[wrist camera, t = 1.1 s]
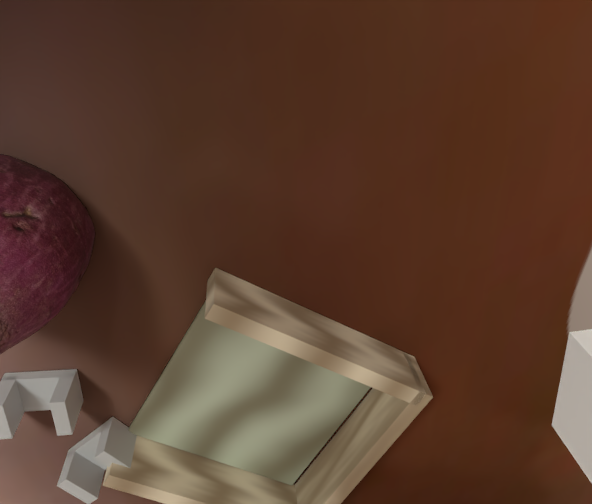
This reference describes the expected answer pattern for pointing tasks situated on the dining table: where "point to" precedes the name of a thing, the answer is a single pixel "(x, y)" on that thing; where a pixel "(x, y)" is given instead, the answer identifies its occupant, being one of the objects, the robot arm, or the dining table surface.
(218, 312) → the tray
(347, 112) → the dining table surface
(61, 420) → the clip
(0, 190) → the vegetable
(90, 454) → the clip
